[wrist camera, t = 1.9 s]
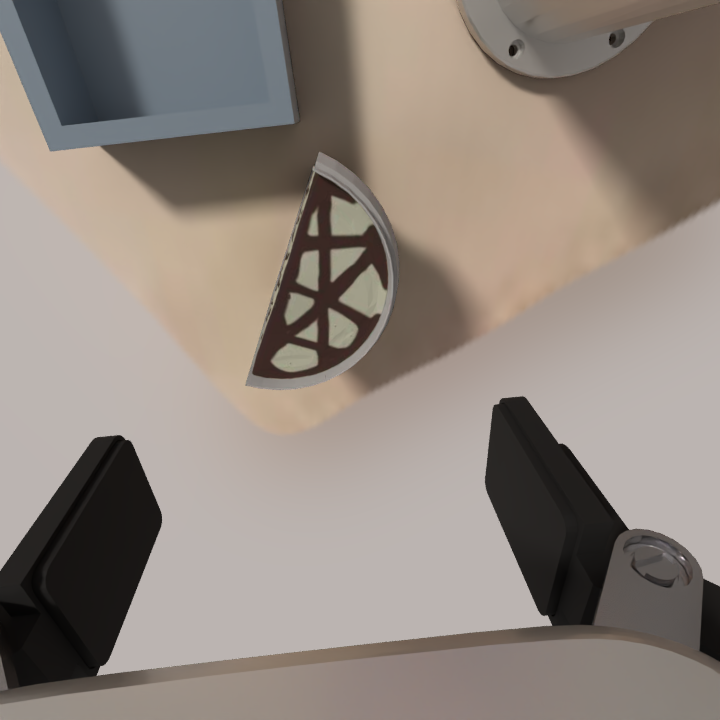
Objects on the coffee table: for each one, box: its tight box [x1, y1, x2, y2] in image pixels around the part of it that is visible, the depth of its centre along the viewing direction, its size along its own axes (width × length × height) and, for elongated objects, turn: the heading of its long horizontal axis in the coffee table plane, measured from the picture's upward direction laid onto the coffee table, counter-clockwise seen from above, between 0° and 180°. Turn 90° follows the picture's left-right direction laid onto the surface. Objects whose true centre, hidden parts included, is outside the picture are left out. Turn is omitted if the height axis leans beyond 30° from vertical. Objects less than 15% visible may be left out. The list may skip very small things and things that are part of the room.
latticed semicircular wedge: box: [245, 152, 399, 390], centre depth 25 cm, size 12×6×10 cm, turn 158°
